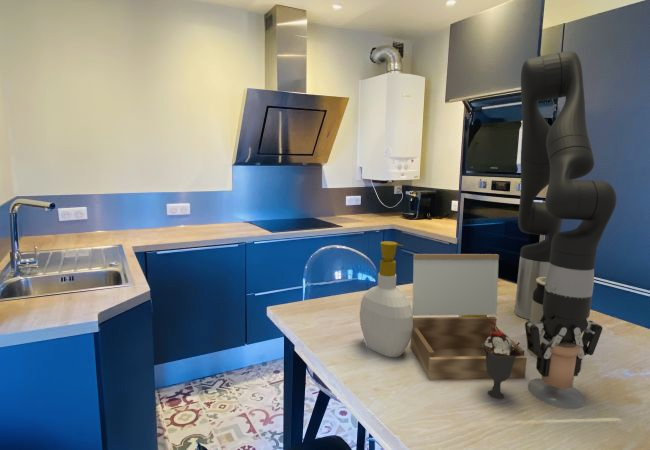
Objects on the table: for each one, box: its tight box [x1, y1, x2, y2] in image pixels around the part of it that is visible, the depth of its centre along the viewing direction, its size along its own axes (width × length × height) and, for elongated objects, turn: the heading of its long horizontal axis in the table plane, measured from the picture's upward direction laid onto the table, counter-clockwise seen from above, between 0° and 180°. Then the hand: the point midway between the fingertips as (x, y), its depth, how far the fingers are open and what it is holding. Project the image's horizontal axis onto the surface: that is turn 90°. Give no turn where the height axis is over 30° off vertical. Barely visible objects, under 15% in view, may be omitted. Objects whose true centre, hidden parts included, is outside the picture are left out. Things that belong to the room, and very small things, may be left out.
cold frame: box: [409, 316, 528, 381], centre depth 88 cm, size 20×14×8 cm
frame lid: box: [411, 253, 500, 317], centre depth 93 cm, size 20×14×1 cm
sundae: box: [482, 321, 521, 400], centre depth 75 cm, size 7×7×15 cm
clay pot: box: [541, 338, 581, 389], centre depth 76 cm, size 6×6×8 cm
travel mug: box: [526, 277, 546, 359], centre depth 91 cm, size 8×8×18 cm
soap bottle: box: [359, 240, 414, 358], centre depth 92 cm, size 14×9×26 cm, turn 41°
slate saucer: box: [527, 378, 586, 410], centre depth 77 cm, size 10×10×1 cm
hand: (557, 373), depth 76 cm, fingers closed on clay pot, 5 cm apart
